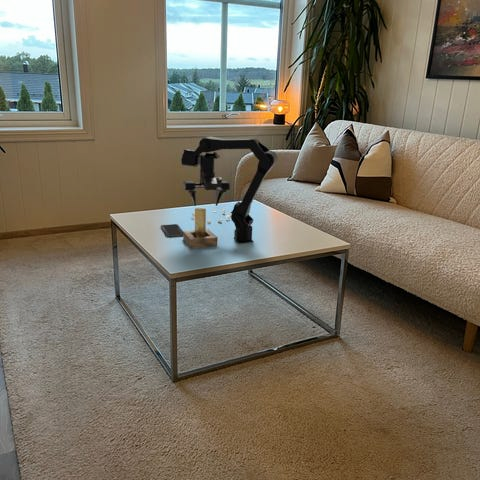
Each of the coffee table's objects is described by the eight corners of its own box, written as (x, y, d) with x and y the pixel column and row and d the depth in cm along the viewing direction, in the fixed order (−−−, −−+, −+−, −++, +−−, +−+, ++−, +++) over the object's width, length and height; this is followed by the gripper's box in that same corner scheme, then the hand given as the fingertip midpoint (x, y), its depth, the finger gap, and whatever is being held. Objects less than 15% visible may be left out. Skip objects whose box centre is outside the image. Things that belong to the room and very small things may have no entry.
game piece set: (187, 213, 232) (187, 205, 230) (226, 211, 237) (226, 204, 236) (194, 225, 214) (194, 217, 213) (236, 223, 219) (236, 215, 218)
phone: (167, 235, 196) (160, 225, 209) (167, 238, 196) (160, 227, 209) (185, 234, 198) (177, 223, 211) (185, 236, 199) (177, 226, 212)
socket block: (208, 236, 198) (208, 229, 197) (217, 245, 189) (217, 237, 188) (183, 239, 194) (183, 231, 193) (191, 248, 185) (191, 240, 184)
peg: (203, 240, 194) (203, 207, 190) (207, 243, 191) (207, 210, 186) (193, 241, 193) (193, 208, 188) (196, 244, 189) (196, 211, 184)
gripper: (189, 172, 180) (187, 211, 185) (235, 172, 186) (232, 210, 191) (182, 166, 190) (181, 204, 195) (226, 167, 196) (224, 203, 201)
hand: (205, 205), depth 195 cm, fingers open, 9 cm apart
